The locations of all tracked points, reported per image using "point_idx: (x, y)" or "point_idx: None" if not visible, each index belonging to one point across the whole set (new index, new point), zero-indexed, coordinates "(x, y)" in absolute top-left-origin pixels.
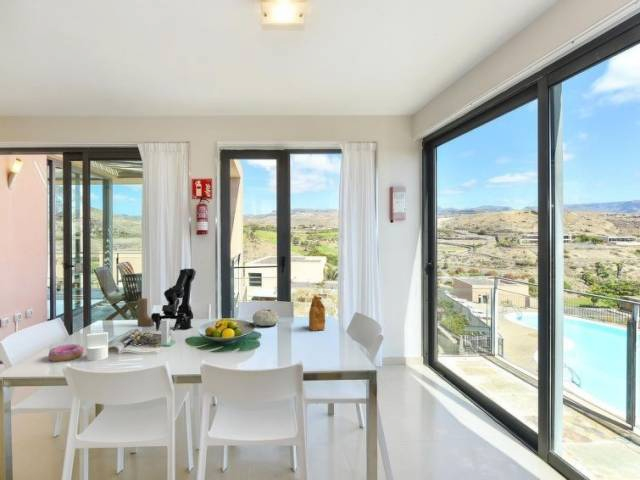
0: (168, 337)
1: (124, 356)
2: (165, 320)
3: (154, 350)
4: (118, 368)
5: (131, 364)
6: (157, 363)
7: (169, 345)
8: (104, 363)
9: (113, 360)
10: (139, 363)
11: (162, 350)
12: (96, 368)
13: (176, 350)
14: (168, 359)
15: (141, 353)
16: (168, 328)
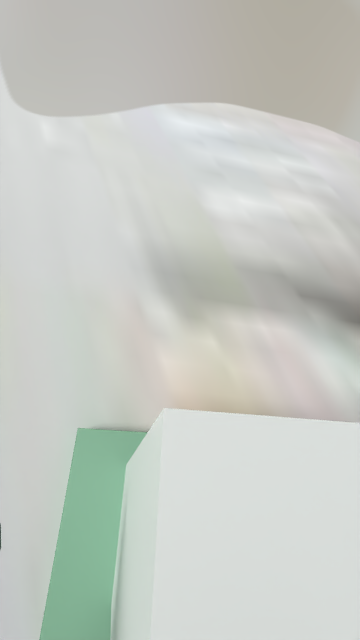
0: (120, 537)
1: (330, 252)
2: (241, 452)
3: (196, 334)
4: (256, 123)
5: (225, 146)
6: (98, 126)
7: (89, 429)
8: (355, 183)
9: (344, 208)
10: (192, 147)
11: (130, 325)
12: (344, 144)
13: (4, 307)
14: (46, 157)
15: (260, 284)
16: (123, 574)
